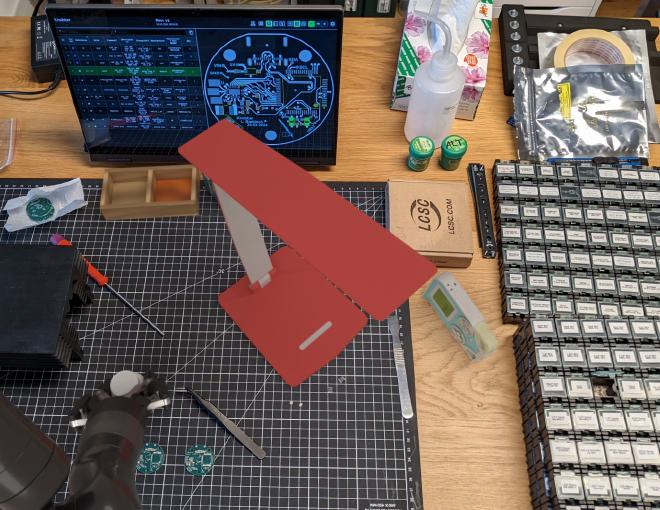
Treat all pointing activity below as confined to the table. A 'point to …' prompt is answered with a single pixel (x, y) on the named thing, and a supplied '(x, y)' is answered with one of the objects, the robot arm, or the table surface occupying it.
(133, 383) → the pill bottle
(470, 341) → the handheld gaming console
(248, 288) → the desk lamp
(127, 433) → the robot arm
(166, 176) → the wooden box
